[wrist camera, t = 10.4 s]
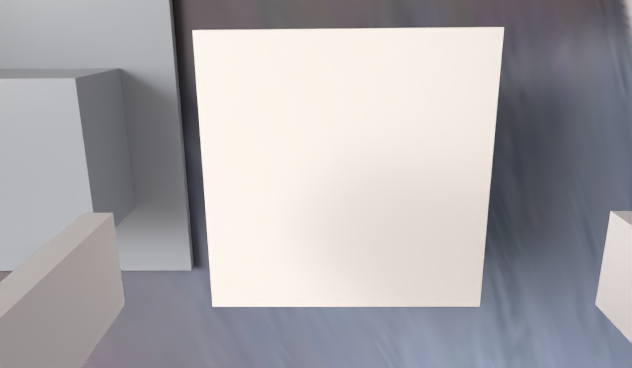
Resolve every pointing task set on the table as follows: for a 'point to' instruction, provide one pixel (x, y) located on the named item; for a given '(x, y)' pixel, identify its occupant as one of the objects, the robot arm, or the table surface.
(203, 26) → the table surface
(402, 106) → the white flat square block
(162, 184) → the stand
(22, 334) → the robot arm
